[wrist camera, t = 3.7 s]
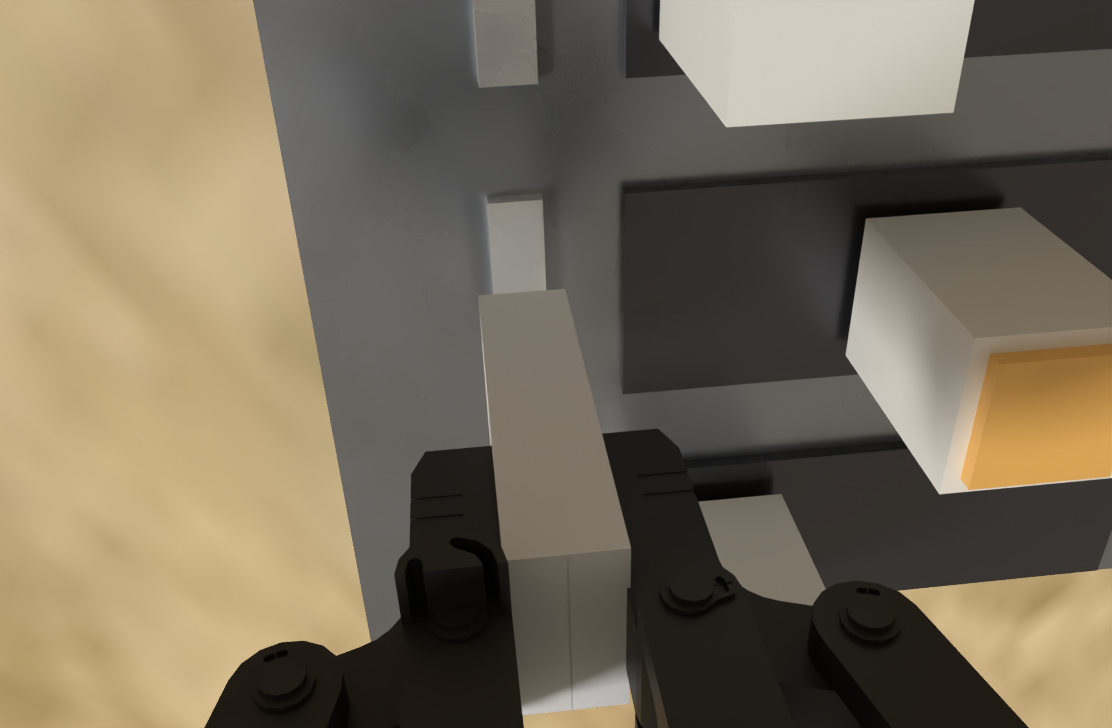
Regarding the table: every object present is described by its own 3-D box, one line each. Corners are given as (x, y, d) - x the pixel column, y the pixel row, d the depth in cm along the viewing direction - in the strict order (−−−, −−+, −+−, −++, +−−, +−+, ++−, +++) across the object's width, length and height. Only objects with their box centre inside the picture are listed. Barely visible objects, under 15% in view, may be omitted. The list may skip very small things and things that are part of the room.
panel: (233, -234, 16) (206, -230, 14) (1605, -283, 18) (1751, -285, 16) (375, 583, 26) (370, 653, 24) (1255, 497, 27) (1318, 556, 25)
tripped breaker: (865, 218, 19) (984, 348, 15) (1020, 206, 19) (1178, 332, 15) (845, 355, 20) (946, 506, 16) (988, 343, 20) (1122, 488, 16)
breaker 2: (646, 506, 22) (692, 664, 18) (781, 493, 22) (852, 647, 18) (644, 604, 23) (685, 768, 20) (770, 592, 24) (833, 752, 20)
